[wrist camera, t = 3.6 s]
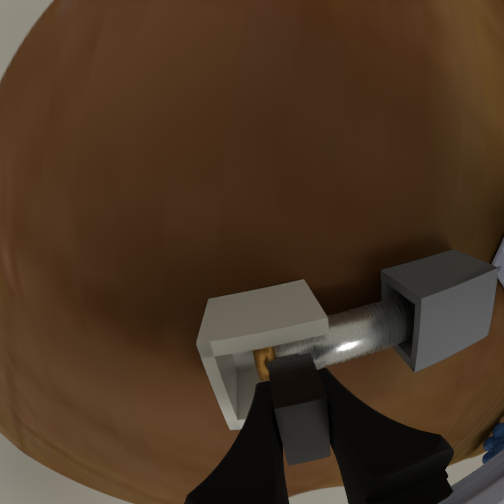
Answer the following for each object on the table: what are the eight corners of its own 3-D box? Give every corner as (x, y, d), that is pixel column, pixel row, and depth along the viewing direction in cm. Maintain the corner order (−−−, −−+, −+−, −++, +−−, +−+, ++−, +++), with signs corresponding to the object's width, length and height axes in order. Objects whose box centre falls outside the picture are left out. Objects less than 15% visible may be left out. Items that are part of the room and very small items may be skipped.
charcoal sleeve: (453, 249, 16) (498, 267, 11) (450, 308, 17) (487, 335, 13) (380, 270, 16) (421, 298, 12) (381, 333, 17) (414, 372, 13)
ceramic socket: (303, 279, 16) (327, 317, 11) (314, 360, 18) (334, 410, 13) (208, 298, 16) (196, 343, 11) (232, 376, 18) (230, 430, 13)
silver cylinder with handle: (392, 279, 15) (472, 339, 8) (392, 334, 16) (454, 405, 9) (247, 314, 16) (252, 412, 8) (261, 368, 16) (271, 468, 9)
